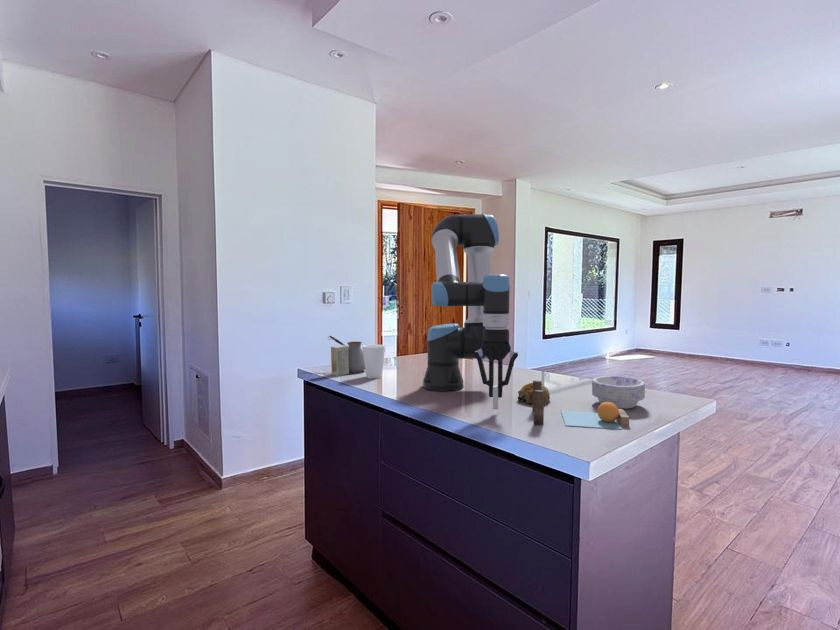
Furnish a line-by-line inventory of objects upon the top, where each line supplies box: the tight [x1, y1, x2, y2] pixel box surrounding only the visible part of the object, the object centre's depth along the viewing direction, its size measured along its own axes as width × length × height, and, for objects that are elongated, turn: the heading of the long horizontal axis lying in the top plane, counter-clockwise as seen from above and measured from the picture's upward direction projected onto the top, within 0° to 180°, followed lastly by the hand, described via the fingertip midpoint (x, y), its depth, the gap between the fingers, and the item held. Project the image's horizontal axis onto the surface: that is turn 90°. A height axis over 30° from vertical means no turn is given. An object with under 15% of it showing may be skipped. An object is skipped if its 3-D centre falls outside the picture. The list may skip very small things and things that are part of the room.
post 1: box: [532, 379, 543, 412], centre depth 134 cm, size 3×3×9 cm
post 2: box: [533, 390, 545, 426], centre depth 122 cm, size 3×3×9 cm
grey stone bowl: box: [591, 375, 646, 410], centre depth 140 cm, size 15×15×8 cm
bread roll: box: [517, 382, 551, 405], centre depth 145 cm, size 10×10×8 cm
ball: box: [596, 402, 619, 422], centre depth 123 cm, size 6×6×6 cm
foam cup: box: [361, 343, 386, 379], centre depth 184 cm, size 10×9×13 cm
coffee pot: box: [327, 335, 366, 374], centre depth 200 cm, size 21×12×15 cm, turn 57°
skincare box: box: [330, 344, 350, 377], centre depth 190 cm, size 6×4×12 cm
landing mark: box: [560, 410, 622, 430], centre depth 125 cm, size 14×14×1 cm
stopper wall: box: [616, 409, 630, 427], centre depth 123 cm, size 8×2×2 cm, turn 167°
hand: (495, 408), depth 131 cm, fingers closed
